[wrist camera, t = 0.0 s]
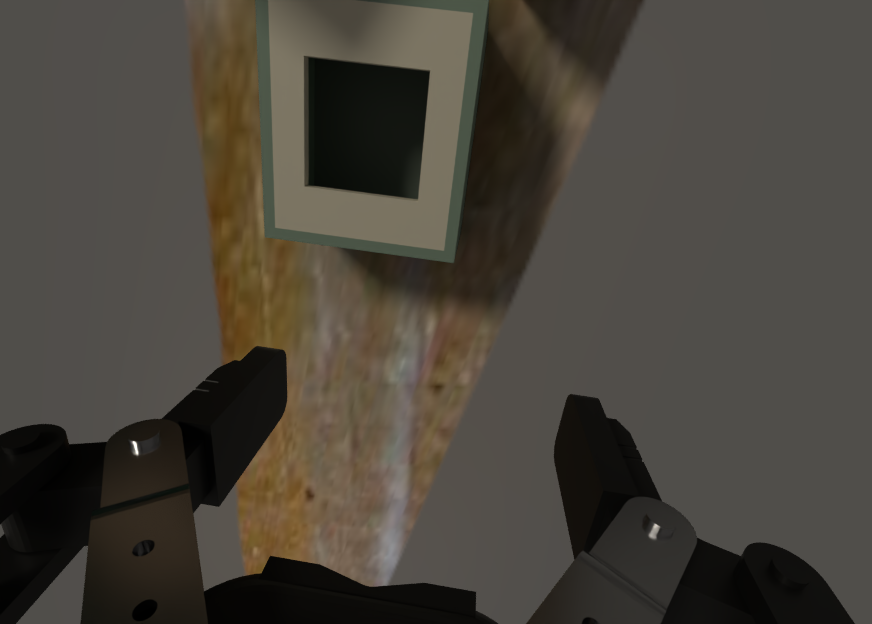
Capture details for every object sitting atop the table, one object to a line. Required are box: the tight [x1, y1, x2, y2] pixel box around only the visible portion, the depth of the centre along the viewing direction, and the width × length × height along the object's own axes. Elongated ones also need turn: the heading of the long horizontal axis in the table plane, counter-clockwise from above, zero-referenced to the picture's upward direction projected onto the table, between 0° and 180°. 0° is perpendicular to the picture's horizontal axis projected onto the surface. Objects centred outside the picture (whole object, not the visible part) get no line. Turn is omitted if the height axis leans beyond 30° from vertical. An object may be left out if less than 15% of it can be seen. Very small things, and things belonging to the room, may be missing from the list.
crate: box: [255, 0, 489, 263], centre depth 33 cm, size 16×14×9 cm
